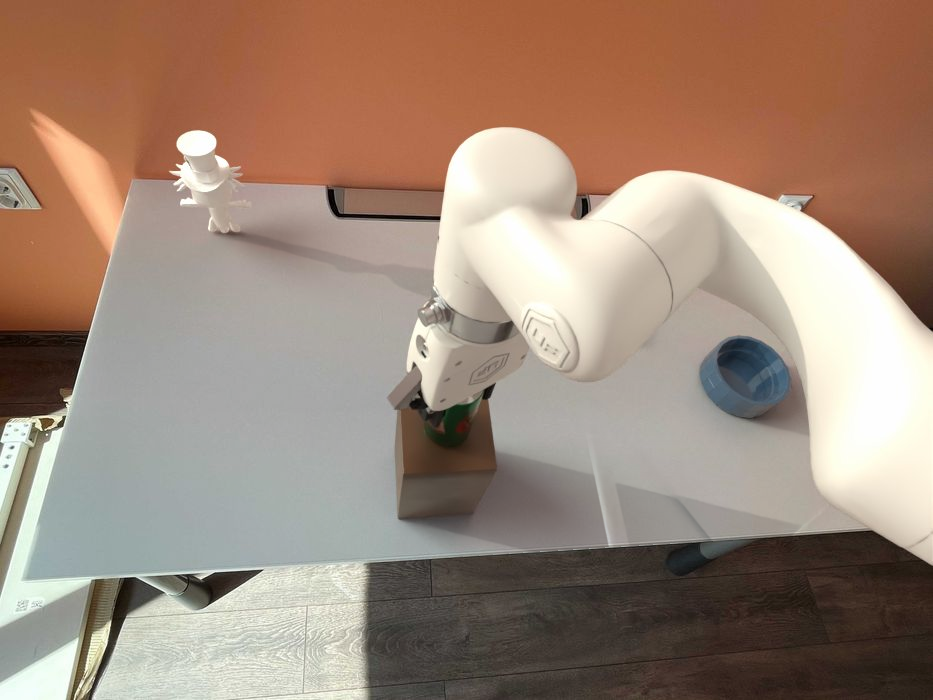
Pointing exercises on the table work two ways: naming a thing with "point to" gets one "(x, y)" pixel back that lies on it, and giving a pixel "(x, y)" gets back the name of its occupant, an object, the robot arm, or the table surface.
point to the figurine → (208, 179)
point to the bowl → (745, 376)
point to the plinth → (442, 467)
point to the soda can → (455, 422)
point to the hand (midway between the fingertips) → (454, 400)
